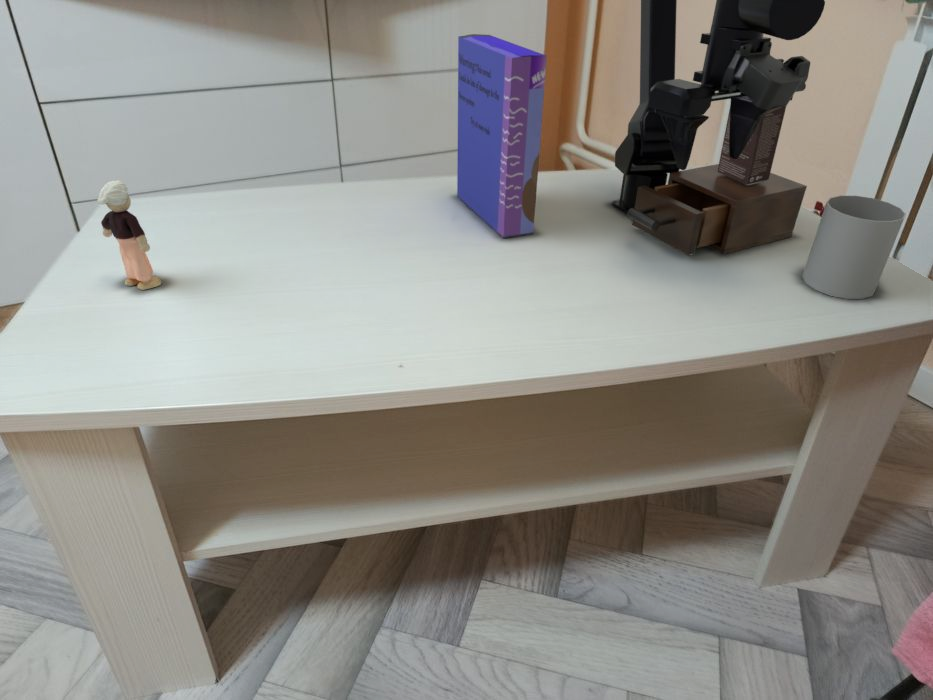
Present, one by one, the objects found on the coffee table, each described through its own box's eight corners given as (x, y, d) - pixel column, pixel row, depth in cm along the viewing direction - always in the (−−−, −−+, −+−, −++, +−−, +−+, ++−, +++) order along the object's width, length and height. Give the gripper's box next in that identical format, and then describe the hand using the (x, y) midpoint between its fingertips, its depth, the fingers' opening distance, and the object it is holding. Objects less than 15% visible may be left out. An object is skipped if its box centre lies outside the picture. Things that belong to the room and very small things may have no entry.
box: (770, 180, 92) (791, 91, 85) (745, 187, 91) (764, 97, 84) (739, 165, 97) (757, 80, 90) (715, 172, 96) (731, 85, 88)
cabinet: (723, 254, 91) (736, 201, 86) (660, 222, 100) (669, 172, 96) (791, 236, 96) (807, 185, 92) (725, 207, 105) (737, 160, 101)
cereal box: (533, 233, 95) (546, 53, 82) (503, 238, 94) (512, 56, 81) (484, 193, 109) (489, 33, 96) (457, 197, 107) (458, 34, 94)
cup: (883, 302, 80) (915, 224, 74) (811, 295, 81) (837, 218, 76) (863, 271, 87) (891, 198, 81) (796, 265, 88) (820, 192, 83)
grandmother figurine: (176, 280, 82) (151, 180, 75) (155, 294, 79) (126, 191, 72) (126, 270, 84) (97, 172, 77) (103, 283, 81) (70, 182, 74)
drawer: (663, 261, 86) (671, 219, 83) (608, 230, 95) (614, 191, 92) (754, 238, 93) (765, 198, 90) (695, 211, 101) (703, 173, 98)
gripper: (737, 42, 65) (703, 196, 73) (855, 30, 73) (812, 171, 81) (657, 27, 73) (634, 167, 81) (771, 18, 81) (739, 147, 89)
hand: (708, 163), depth 83 cm, fingers open, 9 cm apart
